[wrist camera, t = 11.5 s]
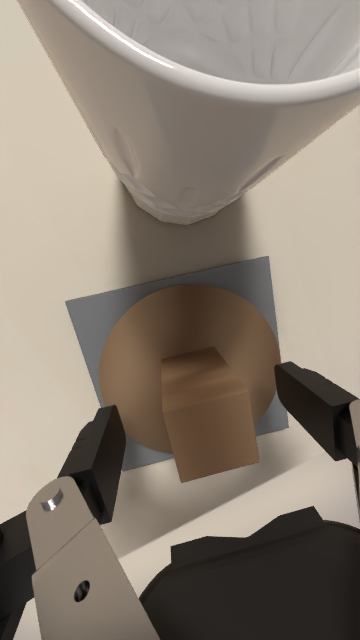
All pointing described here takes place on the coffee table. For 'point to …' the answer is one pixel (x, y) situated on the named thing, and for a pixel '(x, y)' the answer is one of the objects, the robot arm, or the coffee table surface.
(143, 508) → the coffee table surface
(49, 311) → the coffee table surface
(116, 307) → the mat
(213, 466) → the lid
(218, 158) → the white cup
